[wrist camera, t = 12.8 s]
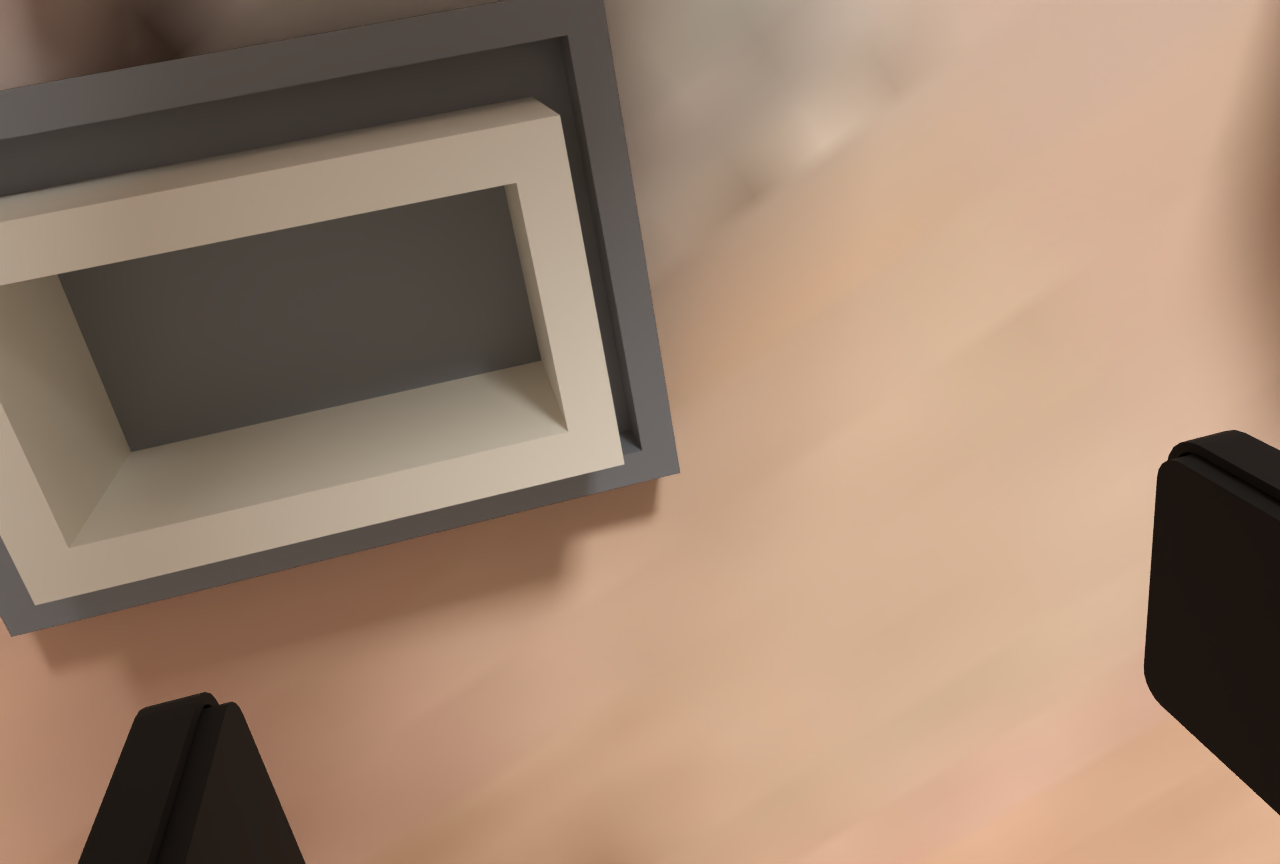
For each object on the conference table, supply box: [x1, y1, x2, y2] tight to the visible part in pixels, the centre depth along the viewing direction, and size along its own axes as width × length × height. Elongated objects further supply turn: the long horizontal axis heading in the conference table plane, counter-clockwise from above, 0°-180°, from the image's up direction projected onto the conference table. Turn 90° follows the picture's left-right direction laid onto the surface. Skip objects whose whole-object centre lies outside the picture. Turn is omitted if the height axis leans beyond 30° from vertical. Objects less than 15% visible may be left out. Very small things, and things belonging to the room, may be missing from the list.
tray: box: [0, 0, 680, 637], centre depth 26 cm, size 13×19×2 cm
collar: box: [0, 97, 624, 605], centre depth 24 cm, size 8×14×6 cm, turn 100°
